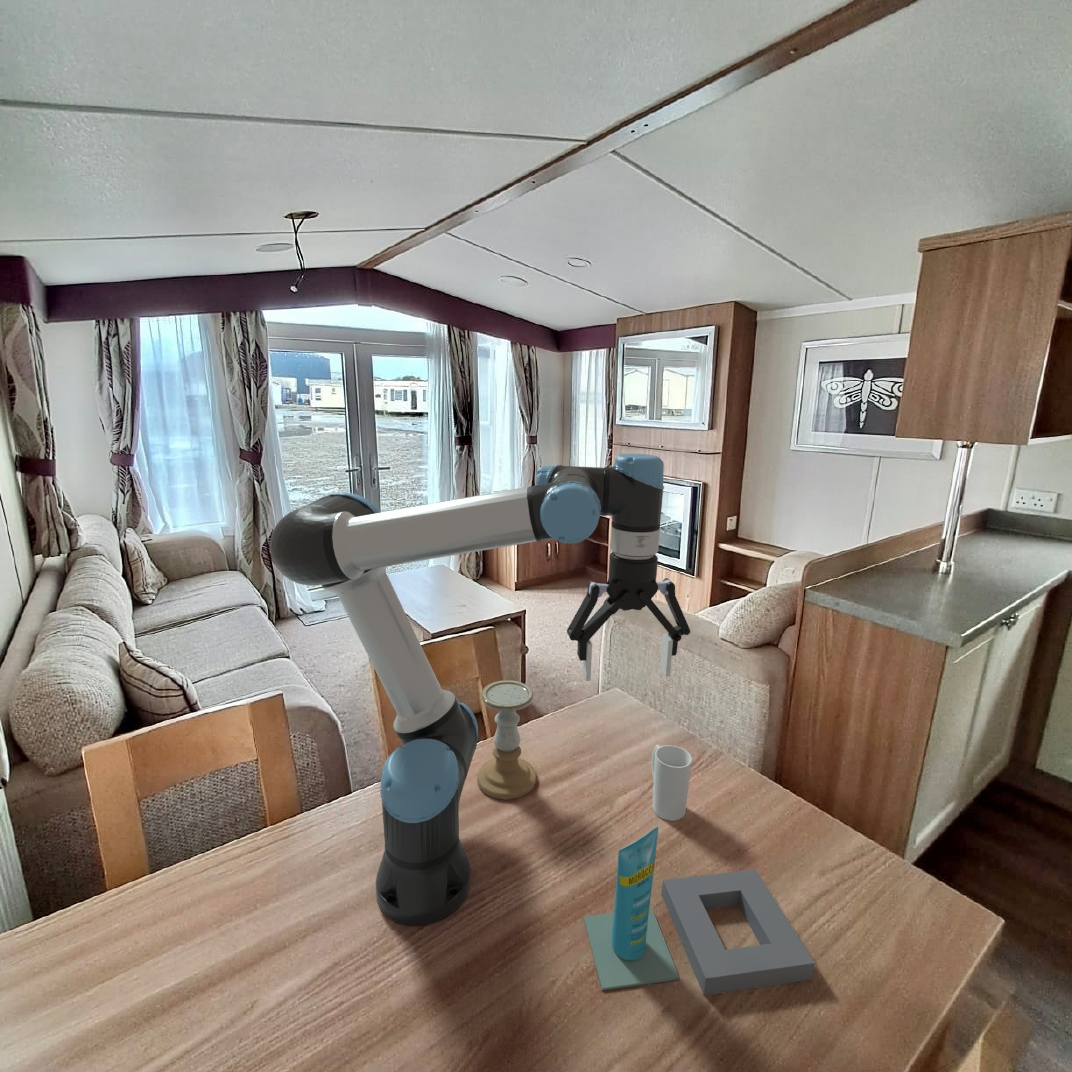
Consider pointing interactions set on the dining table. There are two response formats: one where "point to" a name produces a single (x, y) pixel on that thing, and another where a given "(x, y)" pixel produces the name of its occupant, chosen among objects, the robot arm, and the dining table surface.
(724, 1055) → the dining table surface
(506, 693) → the candle holder
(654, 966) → the coaster
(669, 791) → the mug
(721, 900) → the socket board
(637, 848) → the tube
